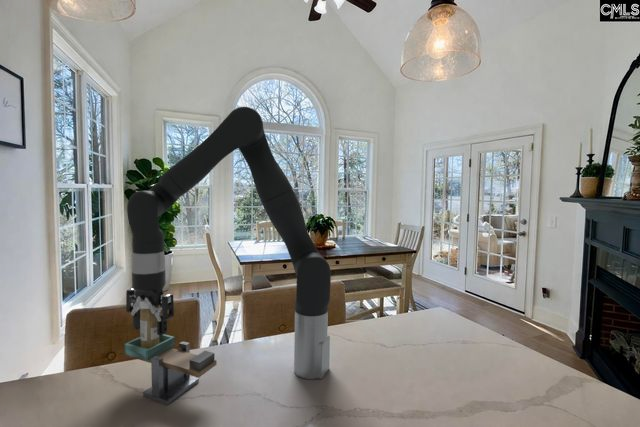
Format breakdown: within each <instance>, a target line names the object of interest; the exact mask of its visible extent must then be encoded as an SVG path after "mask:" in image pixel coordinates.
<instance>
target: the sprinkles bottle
mask: <svg viewBox="0 0 640 427" xmlns="http://www.w3.org/2000/svg"><path fill="white" fill-rule="evenodd" d="M139 307H140V329H139V335H140V336H139V337H140V339H141V347H142V348H146V349H150V348H152V347H153V346H155V345H157V344H159V335H157V321H158V320H157V318H156V316H155V315H154V314H152V312H151V310H150V308H149V306H148V305H147V304H146V302H145V300H141V301H140V302H139ZM158 308H160V305H159V306H158V307H157V308H156V309H158Z"/></svg>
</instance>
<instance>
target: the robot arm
mask: <svg viewBox="0 0 640 427" xmlns="http://www.w3.org/2000/svg"><path fill="white" fill-rule="evenodd" d="M238 149H239V151H240V153H241V155H242V157H243V158H244V160H245V161H246V164H247V166H248V168H249V170H250V173H251V176H252V180H253V183H254V186H255V189H256V192H257V194H258V198H259V200H260V203H261V204H262V206H263V209H264V210H265V213H266V215H267V217H268V218H269V221H270V222H271V225H273V228H274V229H275V230H276V232H277V233H278V235H279V236H280V238H281V240H282V241H283V242H284V245H285V247H286V249H287V252H288V254H289V257H290V260H291V263H292V266H293V270H294V273H295V276H296V292H295V293H296V294H295V295H296V296H295V302H294V347H293V348H294V351H293V352H294V355H293V357H294V360H293V362H294V363H293V367H294V368H293V369H294V370H293V371H294V373H295V375H297V377H299V378H302V379H307V380H315V379H320V380H322V379H323V378H324V377H325V375H326V373H327V372H328V371H329V369H330V355H331V354H330V350H331V348H330V347H331V343H330V342H331V336H330V335H328V329H329V328H328V327H329V326H328V324H329V321H328V318H329V317H328V316H329V314H328V313H329V304H330V300H331V285H332V283H331V280H332V278H331V276H332V275H331V273H332V271H331V266H330V263H329V262H328V261H327V260H326V259H325V258H324V256H323V255H322V254H321V253H320V252H319V250H318V248H317V247H316V245H315V243H314V241H313V240H312V237H311V236H310V234H309V232H308V228H307V226H306V225H307V224H306V221H305V217H304V214H303V210H302V207H301V205H300V202H299V200H298V197H297V194H296V193H295V191H294V189H293V186H292V185H291V183H290V181H289V179H288V176H286V174H285V173H284V170H282V168H281V167H280V165H279V163H278V161H277V160H276V159H275V156H274V155H273V152H272V151H271V150H272V149H271V148H270V144H269V142H268V140H267V136H266V133H265V129H264V122H263V119H262V116H261V115H260V113H259V112H258V111H257V110H256V109H254V108H252V107H250V106H239V107H236V108H234V109H232V111H231V112H230V113H229V114H227V116H226V118H224V120H223V121H222V122H221V123H220V124H219V125H218V126H217V127H216V129H214V130H213V132H212V133H210V135H209V136H208V137H207V138H205V139H204V140H203V141H202V142H201V143H200V144H199V145H198V146H197V147H195V148H194V149H193V150H192V151H190V152H189V153H187V154H186V155H185V156H183V157H182V159H180V160H179V161H177V162H176V163H175V164H173V165H172V166H170V167H169V169H167V170H166V171H165V172H163V174H161V175H160V177H159V181H158V182H157V183H155V184H154V186H152V187H151V188H150V189H148V190H138V191H135V192H134V193H132V195H130V197H129V199H128V201H127V206H126V213H127V218H128V223H129V227H130V231H131V234H132V258H131V287H132V288H130V289H127V290H126V292H125V293H126V298H125V299H126V300H125V301H126V302H125V304H126V305H125V308H126V310H125V311H126V313H130V315H131V316H132V320H133V321H132V326H133V330H135V331H138V330H140V307H139V302H140V301H141V300H145V302H146V304H147V305H148V306H149V308H150V310H151V312H152V314H154V315H155V316H156V318H157V320H158V321H157V335H160V336H161V335H163V334H165V335H166V333H167V331H168V320H169V319H171V318H173V317H175V308H174V307H175V305H174V294H173V293H169V294H164V291H163V290H164V288H165V286H166V256H165V236H164V235H165V234H164V232H163V230H162V229H161V228H160V223H159V217H160V216H162V215H163V214H164V213H166V212H167V211H168V210H170V208H172V206H173V205H174V204H175V203H177V201H179V199H180V198H181V197H182V196H184V195H185V194H187V193H188V192H189V191H190V190H192V189H193V188H194V187H195V186H197V184H199V183H200V182H202V180H204V178H206V176H208V175H209V174H210V173H211V171H213V169H214V168H215V167H216V166H217V165H218V164H219V163H220V162H221V161H222V160H224V158H226V157H227V156H228V155H230V154H232V153H233V152H234V151H236V150H238ZM158 306H159V308H158V309H156V308H157V307H158Z"/></svg>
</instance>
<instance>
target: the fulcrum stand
mask: <svg viewBox="0 0 640 427" xmlns="http://www.w3.org/2000/svg"><path fill="white" fill-rule="evenodd" d="M190 346H191V345H190V342H186V341H181V342H179V343H178V350H181V351H185V352H188V353H191V352H190V349H191V347H190ZM150 364H151V368H150V369H151V386H150V387H149V388H147V389H146V390H144V391H142V397H143V398H146V399H150V400H151V401H155V402H158V403H161V404H163V405H166V406H168V405H170V404H171V403H173V402H174V401H175V400H176V399H178V398H180V396H182V395H183V394H185V392H187V391H189V390H190V389H191V388H192V387H194V386H195V385H197V384H198V383H199V381H200V379H199V378H200V377H199V378H198V377H195V376H191V375H188V374H185V373H182V372H178V371H175V370H172V369H169V368H165V367H163V358H161V357H157V356H155V357H153V358H151V363H150Z"/></svg>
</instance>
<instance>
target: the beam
mask: <svg viewBox="0 0 640 427" xmlns="http://www.w3.org/2000/svg"><path fill="white" fill-rule="evenodd" d="M175 339H176V337H175V336H173V335H169V334H166V333H165V334H163V335H161V336H160V335H159V344H157V345H155V346H153V347H152V348H150V349H146V348H142V347H141V339H140V336H139V337H137V338H134V339H131V340H130V341H128V342H125V343H124V347H123V348H124V349H123V350H124V351H123V352H124V355H127V356H128V357H130V358H133V359H136V360H140V361H144V362H147V363H149V364H151V358H153V357H155V356H157V357H161V358H163V367H165V368H169V369H172V370H175V371H178V372H182V373H185V374H188V375H190V376H193V377H196V378H200V377H202V376H203V375H204V374H206V373H207V372H209V371H210V370H211V369H213V368H214V367H216V366H217V359H215V352H211V351H208V350H204V351H202V352H200V353H198V354H195V353H191V352H190V353H188V352H185V351H181V350H179V349H176V348H174V347H175V346H176V340H175Z"/></svg>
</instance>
